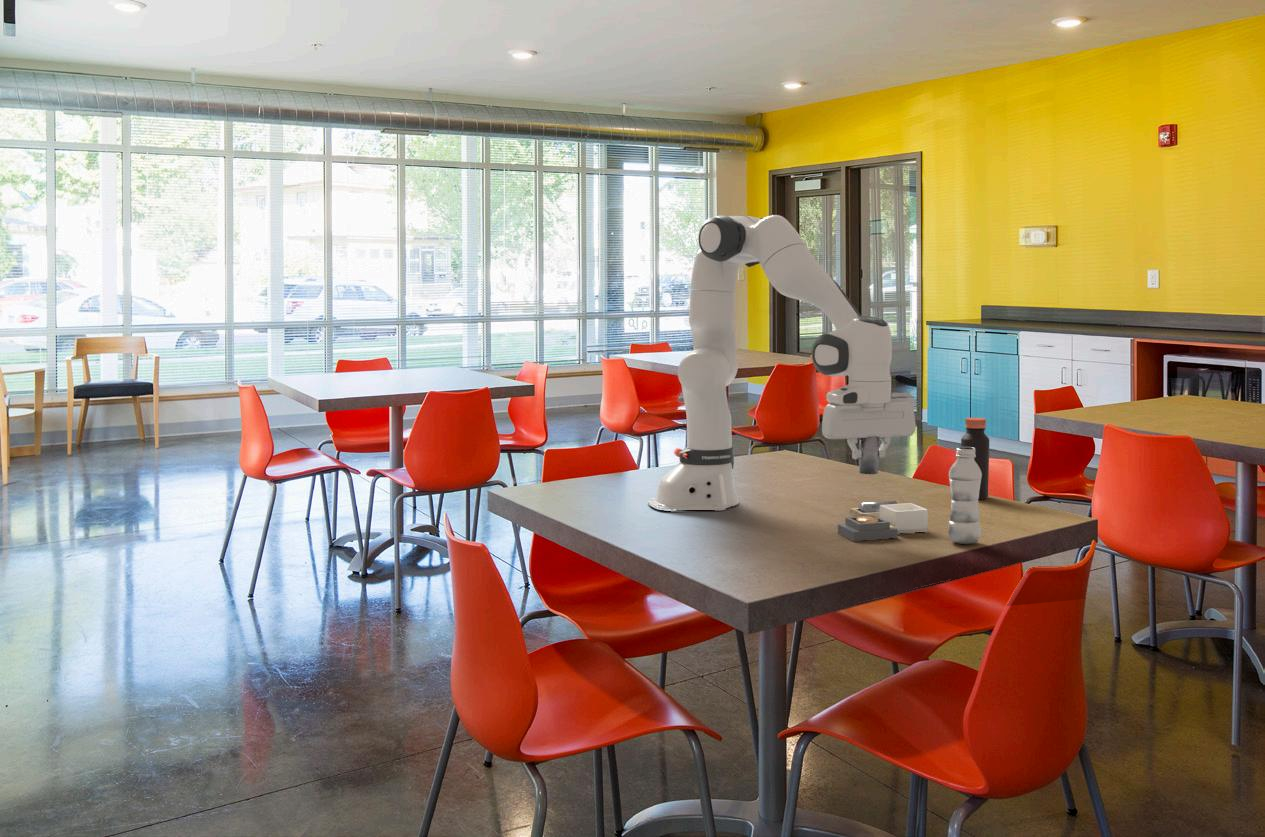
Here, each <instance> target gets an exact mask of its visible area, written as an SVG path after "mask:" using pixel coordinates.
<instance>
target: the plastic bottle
mask: <svg viewBox="0 0 1265 837" xmlns="http://www.w3.org/2000/svg"><path fill="white" fill-rule="evenodd" d="M955 457H956V460H955V461H954V462H953V464H952V466H950V468H949V471H948V481H949V487H950V498H951V500H950V501H951V502H950V503H951V504H950V515H949V521H948V525H947V527H948V528H947V535H948V538H949V540H950V541H951V542H952V543H955V544H960V545H969V544H976V543H978V542H979V540H980V539H981V535H982V527H981V522H980V514H979V512H980V510H979V501H980V500H978V499H979V490H980V484H981V477H982V473H981V470H980V468H979V466H978V465H977V463H976V462H975V460H974V458H975V457H976V455H975V448H973V447H961V446H958V447H956V454H955Z"/></svg>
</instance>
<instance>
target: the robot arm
mask: <svg viewBox="0 0 1265 837" xmlns="http://www.w3.org/2000/svg"><path fill="white" fill-rule="evenodd" d="M698 246H699V249H698V250H697V252H696V254H695V258H694V262H693V267H692V273H691V280H690V292H689V294H690V295H689V310H688V312H689V313H688V314H689V315H688V322H689V326H690V329H691V330H690V331H691V337H692V345H693V350H691V351H690V352H688V353H687V354H686V355H685V356H684V357H683V358H682V359H681V361H680V363H679V365H678V368H677V378H678V381H679V382H680V384H681V389H682V390H681V391H682V397H683V402H684V403H683V404H684V406H685V407H684V408H685V414H686V442H687V443H686V447H684V448H683V449H681V448H679V447H676V448H675V449H674V450H673V454H674V456H676V457H678V458H679V463H678V464H677V465H675V466H674V467H673V468H672V469H671V470H670V471H668V472H667V473H665V474H664V475H663V476H662V477H661V478H660V479H659V481H658V484H657V488H656V496H655V497H650V498H649V499H655V500H649V499H647V503H648V502H649V503H650V504H651V505H653V506H655V507H658V508H662V509H671V510H673V509H676V510H715V511H726V510H727V509H728V508H731V506H732V507H734V506H737V505H738V504H739V499H738V496H737V492H736V488H735V482H734V481H735V480H734V473H733V472H734V471H733V469H734V466H735V453H734V447H733V445H732V443H733V442H732V431H733V430H732V428H733V427H732V414H731V410H730V407H729V402H728V401H729V400H728V396H727V387H728V386H729V385H730V384H732V382H734V380H735V378H736V376H737V373H738V368H739V363H738V360H737V342H736V334H735V333H736V332H735V313H736V312H735V310H736V296H737V295H736V294H737V275H738V272H739V270H740V269H741V267H743V266H744V265H745V266H746V267H748V268H751V267H754V266H756V265H758V264H759V265H760V267H761V269H762V270H763V272H764V274H765V275H766V278H767V280H768V282H769V283H770V284H771V286H772V287H773V288H774V289H775V290H776V292H777V293H779V294H780V295H783V296H785V297H786V298H790V299H794V300H798V301H801V302H803V303H807V304H809V305H812V306H814V307H816V308H817V309H820V310H821V311H822V312H823V313H824V314H825V315H826V317H827V318H828V319H829V321H830V322H831V324H832V325H833V326H834V328H835V330H832V331H829V332H827V333H826V332H825V333H822V334H820V335H819V336H818V337H817V338H816V339H815V340H814V343H813V344H812V348H811V360H812V363H813V366H814V367H815V369H816V370H817V371H818V373H820V374H822V375H824V376H828V377H829V376H830V377H843V376H844V377H846V376H848V384H846V385H843V386H842V387H839V388H837V389H833V390H830V391H829V392H827V393H826V401H827V402H828V404H826V405H825V407H824V410H823V414H822V421H821V423H822V424H821V433H822V435H823V437H824V438H825V439H828V440H845V439H846V443H847V445H848V447H849V448H850V449H851V458H852V459H853V460H859V459H862V456H861V455H862V451H860V450H859V448H857V445H856V444H858V439H859V438H867V437H875V436H877V437H879V440H880V441H881V444H880V446H879V447H878V459H884V458H886V450H887V449H888V447H889V445H890V443H891V441H892V440H891V439H892V438H893V437H912V436H913V435H914V433H915V432H916V430H917V429H916V416H915V407H916V406H915V404H916V400H915V398H914V396H913V395H912V394H909V392H892V376H891V372H890V371H891V370H890V367H891V363H892V358H893V356H892V355H893V354H892V353H893V352H892V350H893V347H892V346H893V343H892V332H891V328H890V326H889V323H888V322H887V321H885V320H884V319H883V318H879V317H875V316H866V315H861V313H860V312H859V310H858V309H857V307H856V306H855V305H854V304H853V303H852V301H851V299H850V298H849V297H848V296H847V294H846V293H845V292H844V290H843V288H841V286H840V285H839V284H838V283H837V281H836V280H834V278H833V277H832V275H829V274H828V272H827V271H825V269H824V268H823V267H822V266H821V264H820V263H819V262H818V261H817V260H816V259H815V257H814V255H813V254H812V253H811V251H810V250H809V248H808V247H807V244H806V243H805V241H804V239H803V238H802V237H801V235H800V234H799V233H798V231H797V230H796V228H795V227H794V226H793V225H792V224H791V223H790V222H789V220H788V219H786V218H785V217H784V216H782V215H779V214H772V215H771V214H770V215H767V216H764V217H756V216H750V215H723V214H722V215H716V216H712V217H709V218H707V219H706V220H705V221H704V222H703V223H702V225H701V227H700V230H699V233H698ZM659 506H661V507H659ZM726 508H727V509H726Z"/></svg>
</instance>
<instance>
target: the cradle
mask: <svg viewBox="0 0 1265 837" xmlns="http://www.w3.org/2000/svg"><path fill="white" fill-rule="evenodd" d="M860 517H875V518H878V522H874V523H859V522H857V521H856V519H857V518H858V517H850V516H848V517H847V516H846V517H845V521H844V522H845V523H838V524H837V534H838V533H839V534H838V535H840V534H841V535H840V536H842V535H843V537H844V536H845V537H844V538H846V539H848V540H850V539H851V540H850V541H852V542H854V541H855V542H863V541H862V540H868V541H878V540H877V539H882V540H890V539H889V538H895V539H898V534H897V529H896V528H894V527H893V526H891V525H890V522H888V521H886V520H884V519H882V518H880V517H877V516H860Z"/></svg>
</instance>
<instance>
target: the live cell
mask: <svg viewBox="0 0 1265 837" xmlns="http://www.w3.org/2000/svg"><path fill="white" fill-rule="evenodd" d="M888 504H898V503H897V501H896V500H885V501H884V500H883V501H882V500H881V501H872V502H871V501H870V502H861V503H859V505H858V507H857V508H858V511H861V512H863V513H871V512H880V505H888Z"/></svg>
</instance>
